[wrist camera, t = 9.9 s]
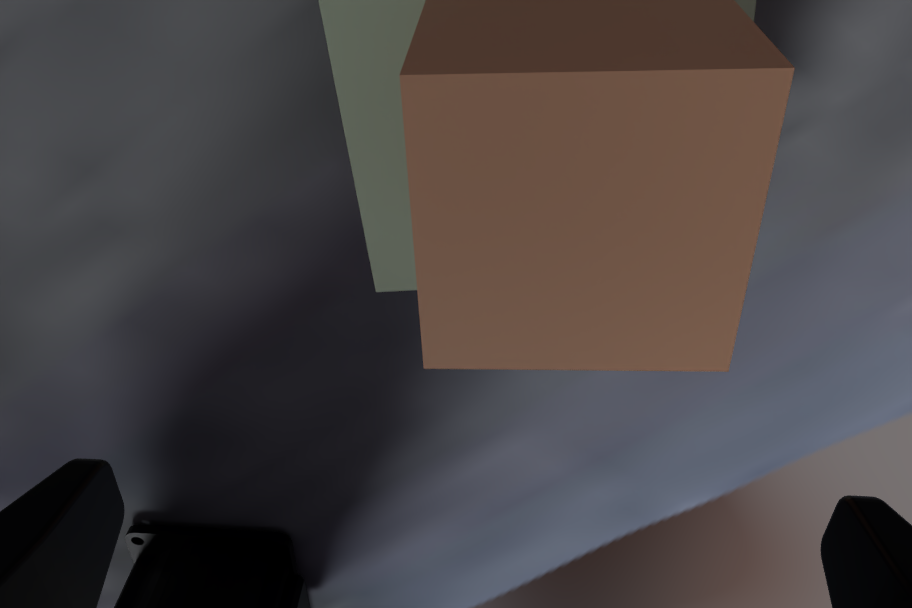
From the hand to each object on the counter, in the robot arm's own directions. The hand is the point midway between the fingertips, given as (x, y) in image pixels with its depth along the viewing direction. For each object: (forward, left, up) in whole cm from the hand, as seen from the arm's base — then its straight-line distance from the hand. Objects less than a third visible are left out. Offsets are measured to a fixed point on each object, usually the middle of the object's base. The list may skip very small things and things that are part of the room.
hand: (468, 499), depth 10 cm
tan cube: (+2, +2, -9) cm, 9 cm away
